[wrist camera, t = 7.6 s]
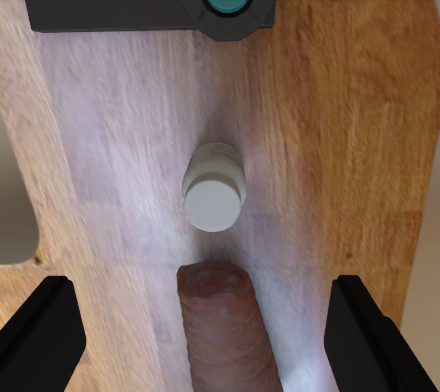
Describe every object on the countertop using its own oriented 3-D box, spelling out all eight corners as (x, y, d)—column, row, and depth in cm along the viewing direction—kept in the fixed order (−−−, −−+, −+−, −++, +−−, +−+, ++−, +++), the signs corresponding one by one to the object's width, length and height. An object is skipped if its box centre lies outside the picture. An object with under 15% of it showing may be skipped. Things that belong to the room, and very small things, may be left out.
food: (287, 393, 36) (305, 491, 28) (207, 405, 37) (202, 503, 29) (247, 238, 28) (256, 311, 20) (147, 258, 29) (117, 336, 21)
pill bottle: (204, 200, 27) (196, 249, 20) (179, 155, 25) (161, 191, 18) (251, 179, 26) (261, 223, 19) (229, 131, 24) (230, 158, 17)
